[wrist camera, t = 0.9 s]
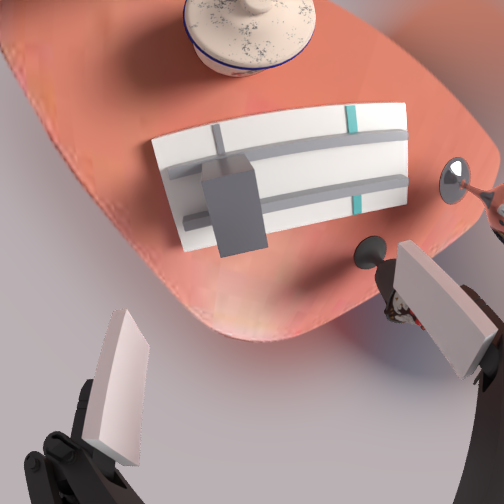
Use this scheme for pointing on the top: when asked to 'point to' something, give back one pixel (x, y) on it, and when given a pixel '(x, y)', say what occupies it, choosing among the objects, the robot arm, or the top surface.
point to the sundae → (384, 279)
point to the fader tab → (234, 205)
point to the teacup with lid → (248, 32)
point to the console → (292, 164)
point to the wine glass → (458, 183)
